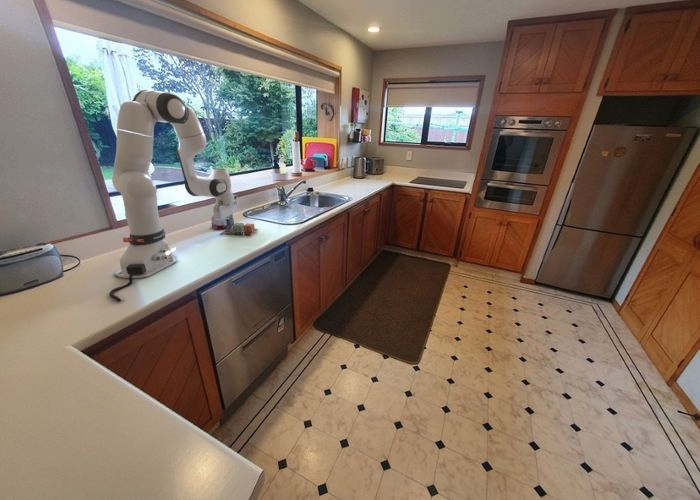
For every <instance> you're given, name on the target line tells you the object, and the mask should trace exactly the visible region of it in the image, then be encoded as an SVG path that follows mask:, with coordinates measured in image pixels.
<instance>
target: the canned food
mask: <svg viewBox="0 0 700 500" xmlns="http://www.w3.org/2000/svg"><path fill="white" fill-rule="evenodd" d="M228 217H229V216H228ZM210 220H211V228H212V230H218V231H219V230H227V229H228V228H230V227H223V223H222V220H215V218H214V214H213V215H212V216H211V219H210Z"/></svg>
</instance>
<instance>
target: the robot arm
mask: <svg viewBox="0 0 700 500" xmlns="http://www.w3.org/2000/svg"><path fill="white" fill-rule="evenodd" d="M158 122H160V123H170V124H171V126H172V127H173V129H174V132H175V134H176V137H177V141H178V146H177V149H176V151H177V157H178V161H179V165H180V169H181V172H182V175H183V181H184V188H185V190H186V192H187V193H188V194H189V195H191V196H192V197H207V198H215V203H214V206H213V215H214V218H215V220H222V221H223V224H224V225H227V224H228V222H227V221H226V217H228V216H229V217H230V218H233V219H234V214H235V213H236V212H238V210H239V204H238V203H239V202H238V200H237V199H238V195H237V194H233V191H232V180H231V176H230V173H229V171H228V170H227V169H226V168H217V167H215V168H212V169H211V173H210V175H208V176H200V175H198V174H197V171H196V167H195V164H194V163H195V162H194V157H195V156H197V155H199V154H201V153H202V152H204V151H205V149H206V147H207V145H208V141H207V137H206V134H205V132H204V128H203V126H202V124H201V121H200V119H199V117H198V115H197V113H196V112H195V110H194V109H193V108H192V107H191V106H189V105H186V104H185V102H184V101H183V99H182V98H180V96H178V95H176V94H174V93H172V92H167V91H166V92H165V91H162V90H158V89H142V90H140V91H137V92H136V93H135V94H134V96H133V98H132V99H131V100H128V101H124V102H122V103H121V104H120V107H119V110H118V115H117V123H116V149H115V150H116V151H115V158H114V162H113V163H114V164H113V170H112V178H111V179H112V180H111V182H112V186H113V188H114V189H115V190H116V191H117V192H118V193H120V195H121V197H122V201H123V206H124V216H125V219H126V222H127V226H128V229H129V237H127V236H124V237H123V238H122V242H124V243H128V246H127V248H126V249H125V251H124V252H123V254H122V255H121V257H120V259H119V267H120V268H118V270H116V271H115V272H114V275H115V276H116V277H117V278H122V279H123V278H124V279H128V283H126V284H125V285H122V286H119V287H116V288H112V289H111V290H110V291H109V296H110V298H112V299H114V300H115V301H117V302H121V300H122V299H121V298H120V297H118V296H117V295H115V294H114V293H115V292H116V291H117V292H118V291H120V290H122V289H125V288H128V287H130V286H131V285H132V283H133V279H143V278H148V277H150V276H152V275H154V274H155V273H158V272H160V271H162V270H164V269H166V268H167V267H169V266H171V265H173V264H176V263H177V259H176V258H175V255H174V254H173V252H175V251H176V247H174V248H171V247H170V245H169V243H168V241H167V240H166V232H165V230H164V228H163V226H162V222H161V219H160V215H159V208H158V207H159V206H158V196H157V195H158V194H157V193H158V188H157V185H156V183H155V181H154V180H153V179H152V178H151V177H150V176H149V175H148V174H149V170H150V165H151V163H152V160H153V158H154V157H153V155H154V136H155V135H154V134H155V132H154V131H155V125H156V123H158Z"/></svg>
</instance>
